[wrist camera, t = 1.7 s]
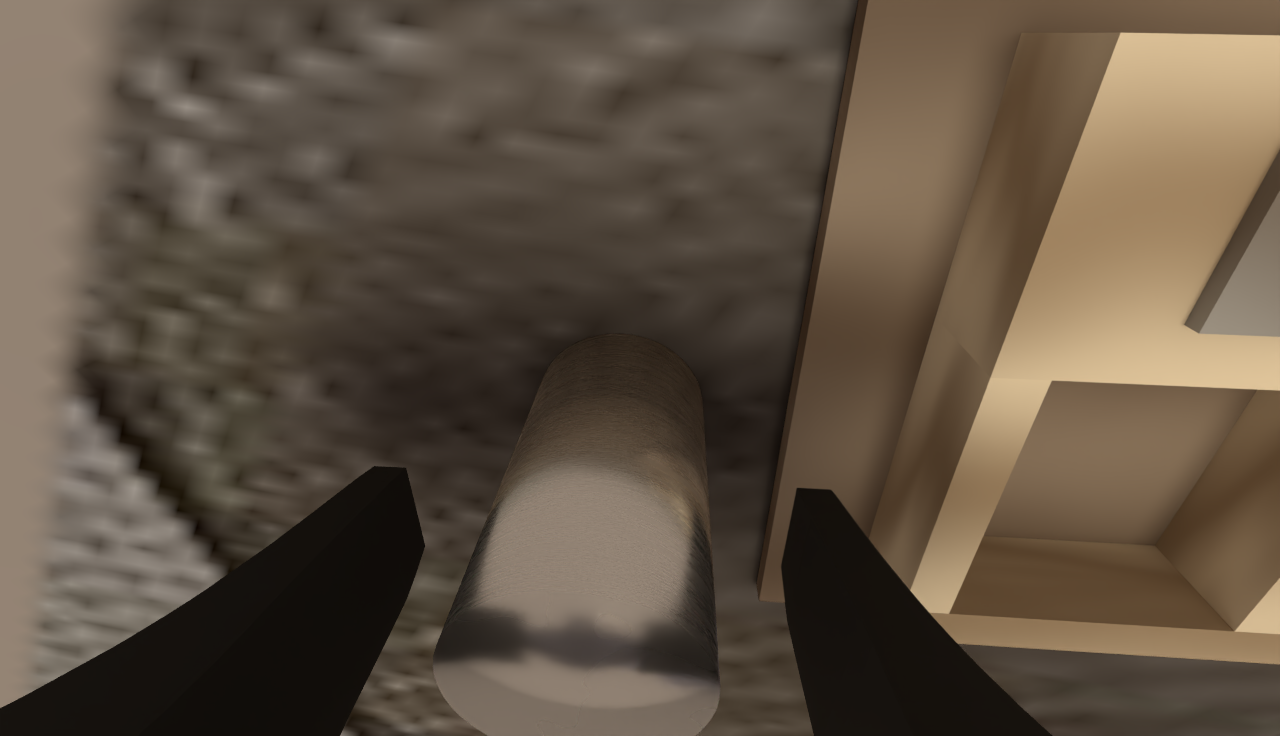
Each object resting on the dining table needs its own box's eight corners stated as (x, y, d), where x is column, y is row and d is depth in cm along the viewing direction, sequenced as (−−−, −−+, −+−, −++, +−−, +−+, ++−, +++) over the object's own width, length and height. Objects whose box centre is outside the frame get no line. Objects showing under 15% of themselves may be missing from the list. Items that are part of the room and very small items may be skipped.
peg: (697, 474, 15) (708, 771, 9) (544, 466, 15) (455, 753, 9) (709, 337, 13) (733, 602, 7) (533, 329, 13) (408, 581, 7)
